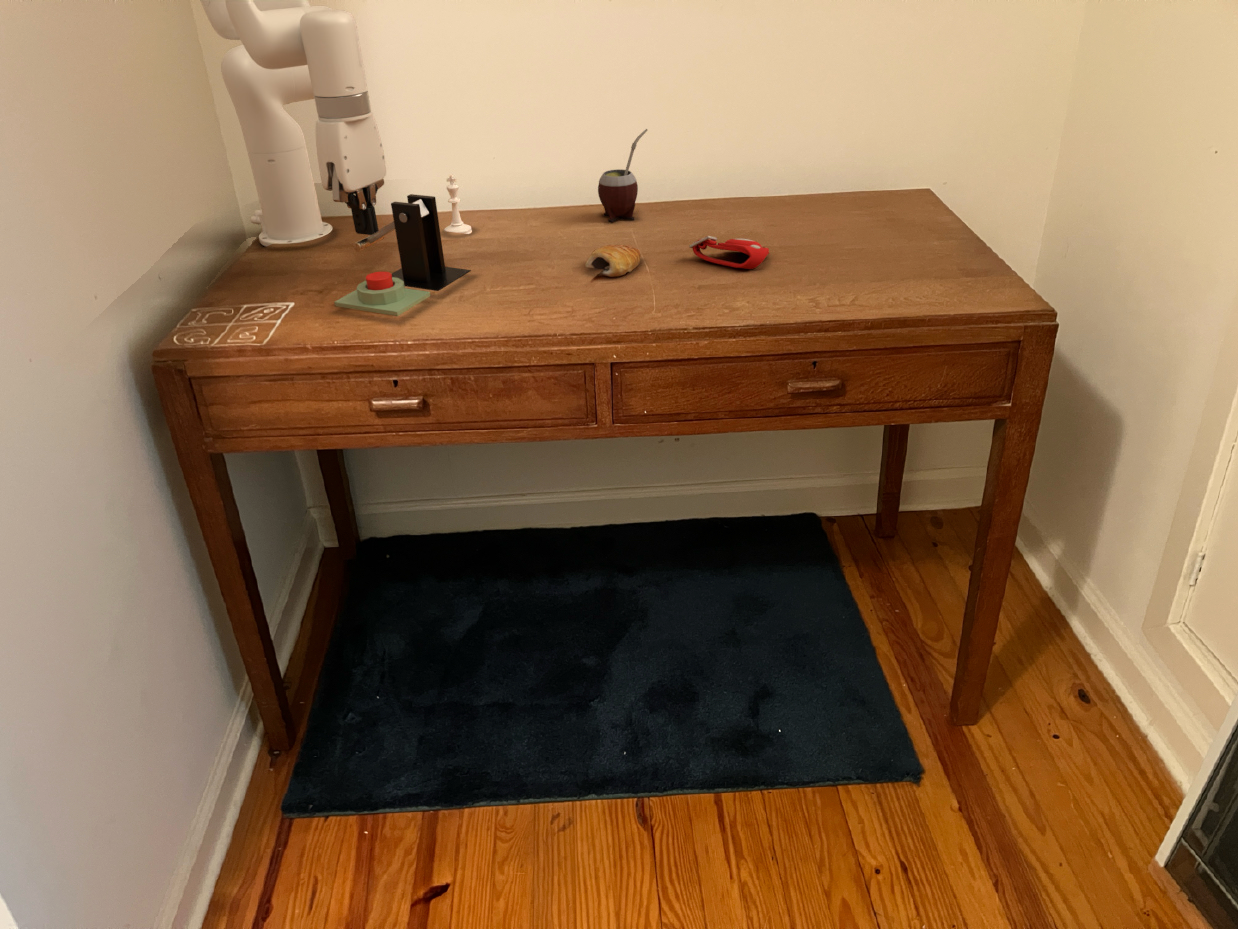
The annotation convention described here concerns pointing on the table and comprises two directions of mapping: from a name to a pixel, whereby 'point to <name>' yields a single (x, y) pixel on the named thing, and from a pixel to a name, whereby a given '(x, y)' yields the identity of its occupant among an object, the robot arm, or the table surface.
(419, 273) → the bracket
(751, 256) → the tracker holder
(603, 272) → the pastry
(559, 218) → the table surface
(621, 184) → the mate gourd
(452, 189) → the chess piece
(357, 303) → the button box
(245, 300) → the table surface
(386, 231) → the lever
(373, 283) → the button
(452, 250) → the table surface
